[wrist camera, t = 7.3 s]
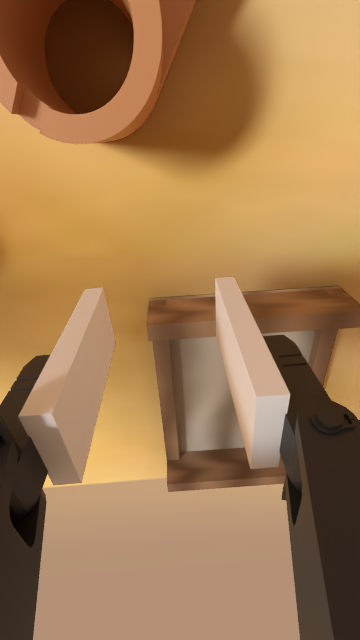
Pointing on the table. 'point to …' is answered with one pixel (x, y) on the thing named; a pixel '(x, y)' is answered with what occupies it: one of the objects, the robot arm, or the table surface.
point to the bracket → (39, 93)
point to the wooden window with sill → (211, 380)
